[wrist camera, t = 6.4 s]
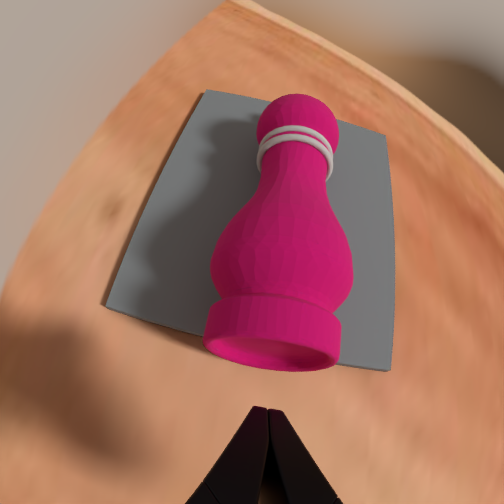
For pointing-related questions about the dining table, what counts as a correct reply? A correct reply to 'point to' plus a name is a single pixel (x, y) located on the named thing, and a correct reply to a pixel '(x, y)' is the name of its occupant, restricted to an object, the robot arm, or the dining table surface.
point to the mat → (230, 203)
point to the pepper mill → (284, 250)
